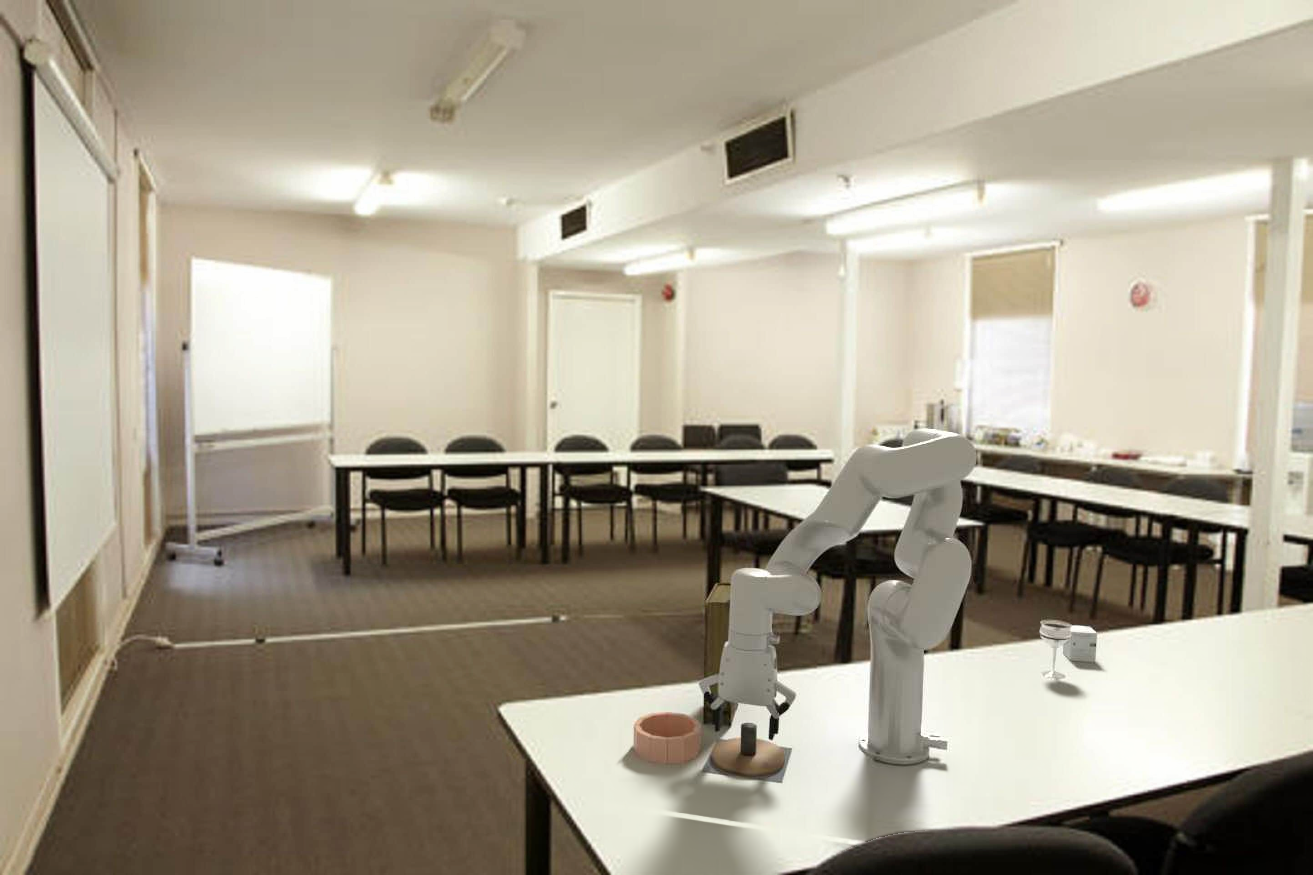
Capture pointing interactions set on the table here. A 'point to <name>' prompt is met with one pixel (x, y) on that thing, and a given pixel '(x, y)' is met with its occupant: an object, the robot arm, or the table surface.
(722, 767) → the lid
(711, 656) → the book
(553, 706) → the table surface
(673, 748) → the bowl
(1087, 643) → the skincare box
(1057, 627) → the wineglass
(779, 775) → the mat
